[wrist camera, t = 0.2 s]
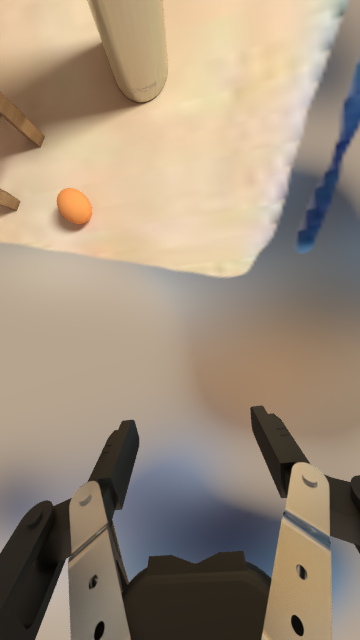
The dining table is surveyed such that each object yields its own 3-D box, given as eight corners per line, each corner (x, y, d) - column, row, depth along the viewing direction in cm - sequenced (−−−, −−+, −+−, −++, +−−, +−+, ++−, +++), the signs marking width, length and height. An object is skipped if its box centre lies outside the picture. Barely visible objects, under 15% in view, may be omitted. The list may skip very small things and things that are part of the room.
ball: (66, 200, 34) (43, 185, 29) (92, 193, 34) (75, 178, 28) (75, 230, 35) (55, 221, 30) (100, 224, 35) (85, 214, 30)
